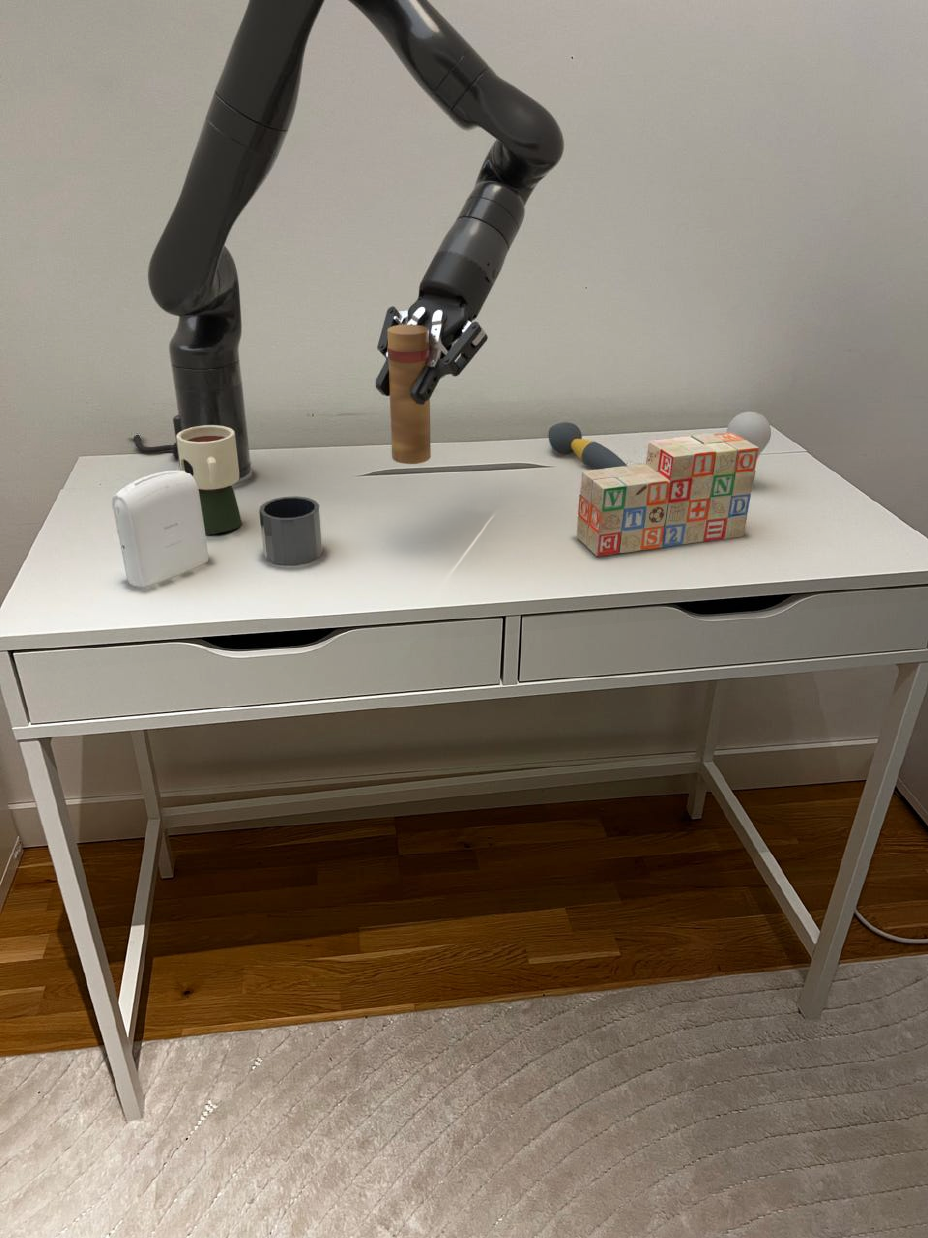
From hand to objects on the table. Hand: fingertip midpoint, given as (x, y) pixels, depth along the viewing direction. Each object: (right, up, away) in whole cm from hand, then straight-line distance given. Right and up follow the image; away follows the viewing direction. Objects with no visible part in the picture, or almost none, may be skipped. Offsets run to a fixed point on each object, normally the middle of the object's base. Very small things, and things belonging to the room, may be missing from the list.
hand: (399, 395), depth 110 cm
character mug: (-25, -14, +17) cm, 33 cm away
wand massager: (+26, -2, +39) cm, 47 cm away
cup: (-14, -18, +10) cm, 24 cm away
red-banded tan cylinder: (+1, -6, +5) cm, 8 cm away
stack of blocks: (+33, -15, +16) cm, 39 cm away
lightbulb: (+48, -6, +32) cm, 57 cm away
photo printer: (-28, -20, +6) cm, 35 cm away
